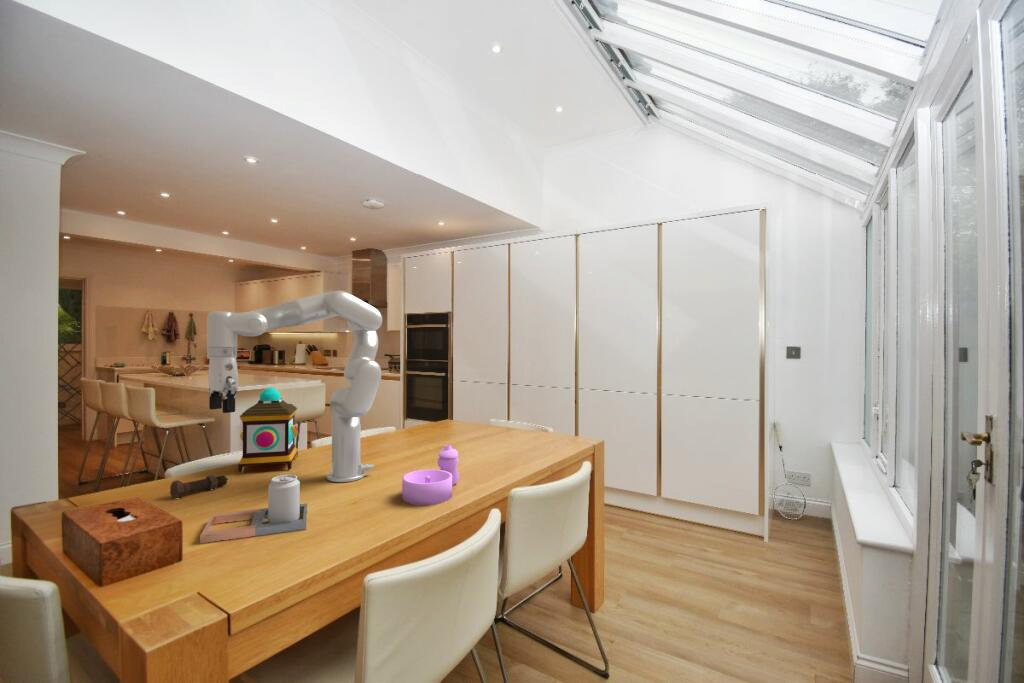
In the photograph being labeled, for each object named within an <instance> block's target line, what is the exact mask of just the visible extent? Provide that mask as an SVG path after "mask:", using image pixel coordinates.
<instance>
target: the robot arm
mask: <svg viewBox="0 0 1024 683" xmlns="http://www.w3.org/2000/svg"><path fill="white" fill-rule="evenodd" d="M335 317H341V318H342V319H345V320H346V324H347V325H348V327H349V330H350V331H351V332H352V335H353V345H352V347H351V351H350V354H349V357H348V359H347V361H346V364H345V367H344V370H343V377H344V380H346V382H348V383H349V384H350V386H343V387H338V388H337V389H336V390H335V391H334V392H333V393H332V395H331V397H330V399H329V407H330V415H331V471H330V472H329V473H328V474H326V480H328V481H330V482H334V483H348V482H349V483H350V482H353V481H357V480H358V481H359V480H361V479H362V478H364V477H365V474H366V472H367V471H374V470H375V465H374V464H370V463H367V464H363V463H362V461H361V432H362V431H361V430H362V428H361V418H362V417H364V416H365V415H367V414H368V413H369V412H370V410H371V408H372V406H373V403H374V401H375V398H376V395H377V392H378V389H379V387H380V384H381V380H382V369H381V366H380V364H379V363H378V362H377V361H375V359H376V357H377V353H378V350H379V349H378V348H379V337H378V333H377V330H378V329H380V328H381V327H382V323H383V316H382V314H381V312H380V311H379V310H378V309H377V308H376V307H374V306H372V305H371V304H369V303H367V302H365V301H363V300H362V299H360V298H358V297H356V296H355V295H353V294H351V293H349V292H347V291H345V290H335V291H328V292H324V293H319V294H315V295H311V296H307V297H306V296H305V297H302V298H301V297H300V298H297V299H293V300H289V301H285V302H282V303H279V304H276V305H273V306H267V307H263V308H258V309H255V310H249V311H246V312H245V311H244V312H243V311H242V312H232V311H223V310H222V311H219V310H218V311H217V310H216V311H215V310H214V311H210V312H208V314H207V317H206V318H207V319H206V320H207V322H206V324H207V327H206V331H207V332H206V335H207V336H206V347H207V348H206V350H207V351H206V357H207V359H209V364H208V365H209V366H208V380H207V381H208V390H209V392H208V393H209V394H208V397H209V398H208V399H209V401H208V402H209V408H208V409H209V410H220V409H222V413H223V414H228V413H235V412H236V396H237V395H236V393H237V391H239V373H238V372H239V371H238V362H237V358H238V335H240V336H243V337H259V336H261V335H262V334H264V333H265V332H268V331H273V330H277V329H282V328H292V327H298V326H304V325H308V324H311V323H315V322H318V321H319V322H320V321H322V320H327V319H330V318H335ZM222 398H223V399H222Z"/></svg>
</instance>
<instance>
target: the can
mask: <svg viewBox="0 0 1024 683" xmlns="http://www.w3.org/2000/svg"><path fill="white" fill-rule="evenodd" d="M270 481H271V482H270V483H269V484H268V490H267V491H268V492H267V493H268V494H267V496H268V500H267V506H268V507H267V508H268V518H267V522H268V524H269V523H277V522H284V521H292V520H300V504H301V502H300V500H301V499H300V498H301V496H300V495H301V494H300V493H301V492H300V491H301V490H300V489H301V488H300V486H301V482H300V480H299V479H298V476H297V475H295V474H281V475H277V476H274V477H272V478H271V480H270Z"/></svg>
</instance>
